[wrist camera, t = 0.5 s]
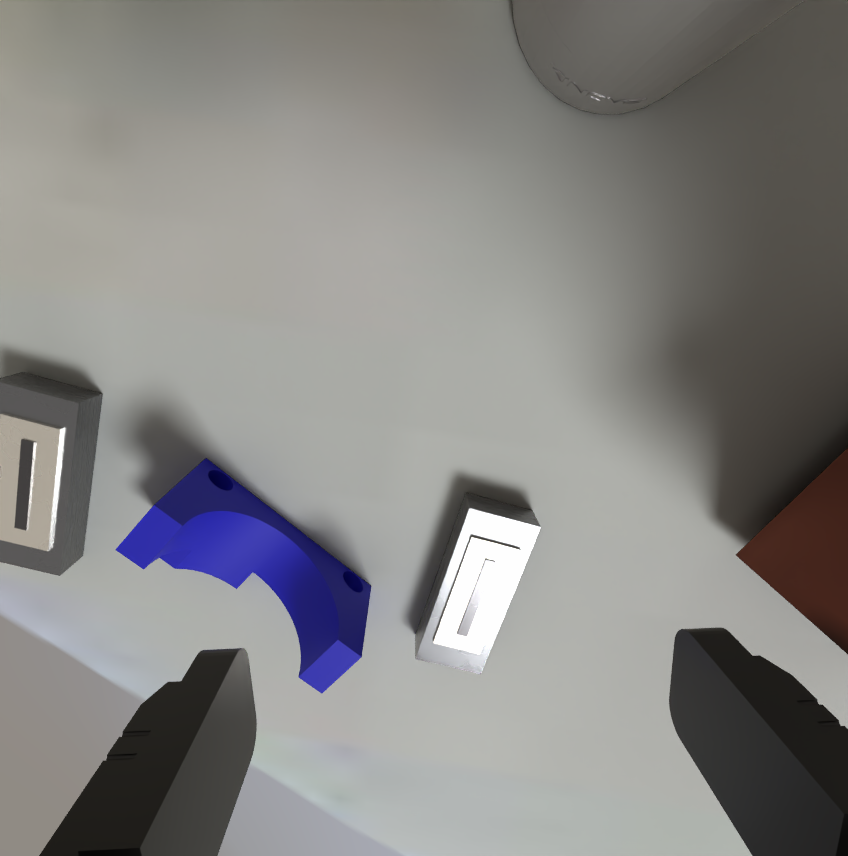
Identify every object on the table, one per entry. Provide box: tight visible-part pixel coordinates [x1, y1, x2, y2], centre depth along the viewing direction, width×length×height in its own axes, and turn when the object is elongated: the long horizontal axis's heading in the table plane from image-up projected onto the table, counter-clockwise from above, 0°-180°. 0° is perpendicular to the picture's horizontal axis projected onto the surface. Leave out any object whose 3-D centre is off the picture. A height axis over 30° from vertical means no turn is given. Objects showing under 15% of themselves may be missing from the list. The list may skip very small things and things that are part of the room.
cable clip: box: [116, 458, 371, 693], centre depth 27 cm, size 12×4×6 cm, turn 47°
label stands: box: [0, 372, 541, 674], centre depth 28 cm, size 10×28×2 cm, turn 73°
